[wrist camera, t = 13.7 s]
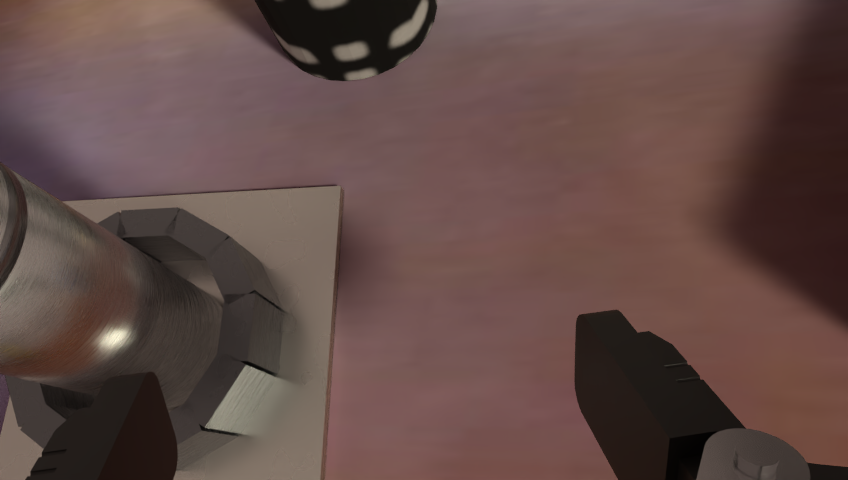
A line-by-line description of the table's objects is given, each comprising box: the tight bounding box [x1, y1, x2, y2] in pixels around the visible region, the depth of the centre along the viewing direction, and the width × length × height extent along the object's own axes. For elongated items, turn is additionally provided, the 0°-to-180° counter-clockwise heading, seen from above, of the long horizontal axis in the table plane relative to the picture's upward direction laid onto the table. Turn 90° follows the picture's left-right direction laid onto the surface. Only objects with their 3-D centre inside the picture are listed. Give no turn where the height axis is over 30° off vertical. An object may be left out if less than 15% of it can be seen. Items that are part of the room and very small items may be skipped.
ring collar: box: [0, 186, 344, 480], centre depth 25 cm, size 14×14×4 cm
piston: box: [0, 162, 223, 409], centre depth 20 cm, size 5×5×14 cm
